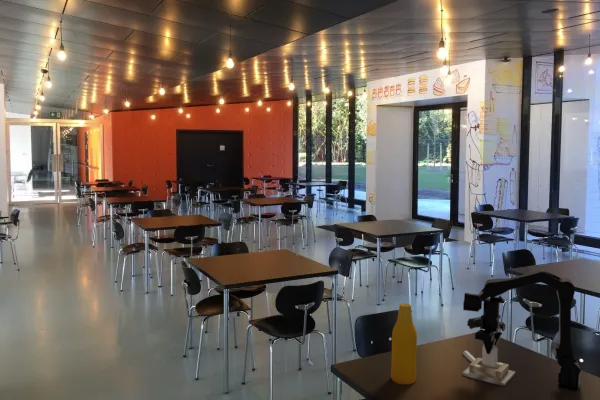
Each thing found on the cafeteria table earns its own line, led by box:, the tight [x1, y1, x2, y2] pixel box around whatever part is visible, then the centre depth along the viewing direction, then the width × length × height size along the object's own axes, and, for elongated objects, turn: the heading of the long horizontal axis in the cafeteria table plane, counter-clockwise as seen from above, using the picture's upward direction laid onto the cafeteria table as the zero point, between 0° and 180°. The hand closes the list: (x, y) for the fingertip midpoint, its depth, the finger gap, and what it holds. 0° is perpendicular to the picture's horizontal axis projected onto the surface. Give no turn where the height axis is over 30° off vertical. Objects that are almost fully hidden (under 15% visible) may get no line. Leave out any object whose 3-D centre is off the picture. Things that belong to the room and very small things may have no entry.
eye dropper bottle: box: [481, 344, 499, 368], centre depth 206 cm, size 4×6×12 cm
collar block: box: [461, 357, 516, 387], centre depth 206 cm, size 16×14×4 cm
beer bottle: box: [390, 302, 418, 386], centre depth 200 cm, size 9×9×29 cm
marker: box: [462, 350, 476, 364], centre depth 222 cm, size 3×2×16 cm
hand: (489, 352), depth 206 cm, fingers closed on eye dropper bottle, 4 cm apart
